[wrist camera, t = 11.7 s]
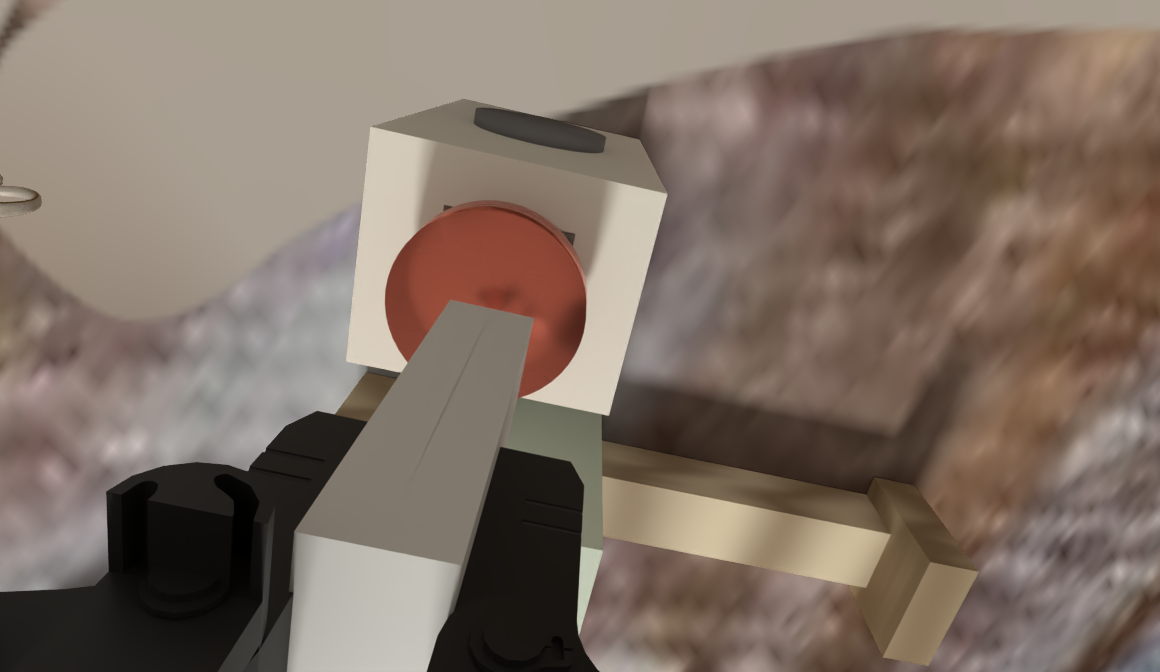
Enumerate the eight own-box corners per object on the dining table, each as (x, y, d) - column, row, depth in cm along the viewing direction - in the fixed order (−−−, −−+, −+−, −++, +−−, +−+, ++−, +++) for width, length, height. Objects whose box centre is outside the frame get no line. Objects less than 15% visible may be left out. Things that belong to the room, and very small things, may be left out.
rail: (914, 485, 33) (978, 571, 28) (875, 568, 35) (928, 665, 29) (366, 372, 32) (316, 439, 26) (355, 465, 33) (306, 547, 28)
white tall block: (641, 129, 27) (672, 177, 16) (604, 282, 30) (609, 415, 19) (465, 88, 27) (372, 108, 16) (441, 246, 29) (345, 361, 18)
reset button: (604, 197, 19) (606, 236, 15) (570, 346, 20) (563, 418, 16) (441, 161, 18) (397, 190, 14) (419, 314, 20) (374, 379, 16)
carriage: (601, 414, 32) (602, 550, 23) (573, 521, 34) (564, 684, 25) (448, 382, 31) (390, 509, 23) (430, 493, 34) (370, 648, 25)
